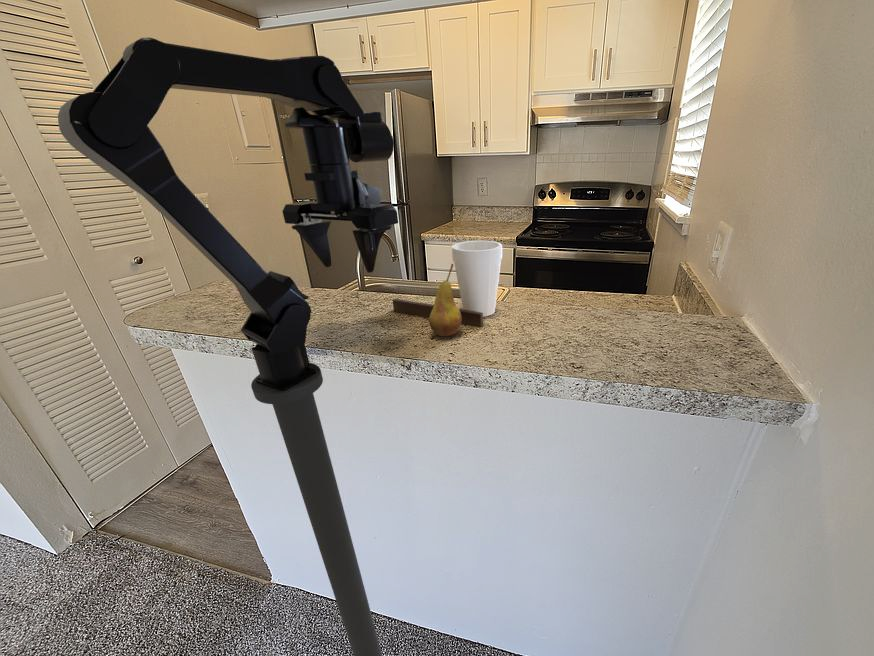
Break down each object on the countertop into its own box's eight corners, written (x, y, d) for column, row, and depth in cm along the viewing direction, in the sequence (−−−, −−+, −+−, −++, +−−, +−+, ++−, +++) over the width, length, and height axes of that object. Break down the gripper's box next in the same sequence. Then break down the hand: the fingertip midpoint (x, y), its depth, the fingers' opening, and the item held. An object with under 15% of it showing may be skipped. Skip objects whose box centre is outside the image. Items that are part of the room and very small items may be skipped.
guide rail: (481, 327, 74) (480, 314, 73) (393, 311, 82) (392, 300, 81) (483, 325, 75) (483, 312, 73) (396, 310, 83) (395, 298, 82)
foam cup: (481, 300, 87) (479, 238, 81) (512, 310, 81) (512, 244, 75) (446, 311, 81) (441, 246, 75) (476, 324, 75) (474, 254, 69)
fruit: (428, 330, 73) (422, 264, 68) (459, 326, 74) (456, 261, 69) (432, 342, 69) (425, 273, 63) (465, 338, 70) (462, 269, 64)
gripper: (413, 160, 62) (423, 262, 69) (324, 162, 69) (342, 253, 77) (364, 164, 53) (381, 280, 60) (268, 165, 61) (294, 268, 68)
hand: (348, 269), depth 66 cm, fingers open, 9 cm apart
